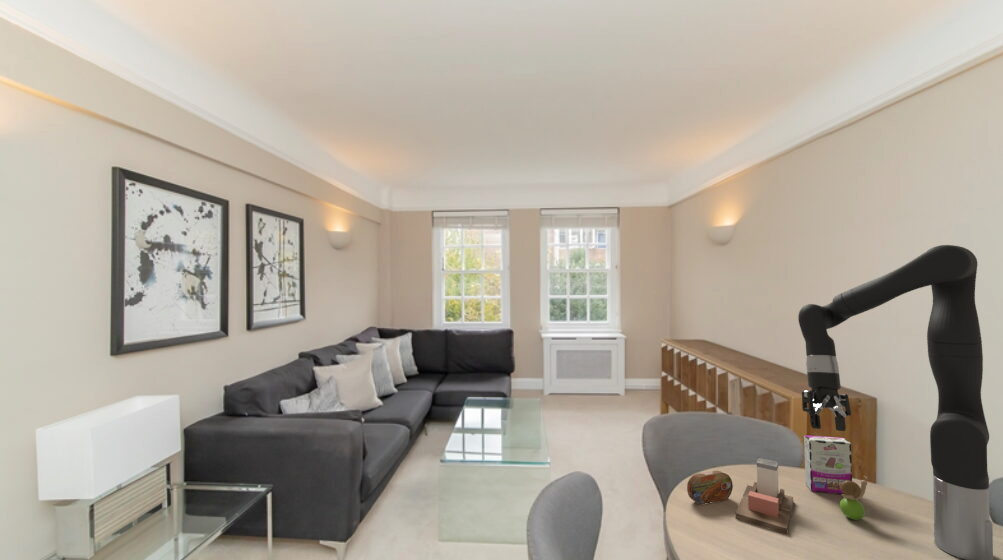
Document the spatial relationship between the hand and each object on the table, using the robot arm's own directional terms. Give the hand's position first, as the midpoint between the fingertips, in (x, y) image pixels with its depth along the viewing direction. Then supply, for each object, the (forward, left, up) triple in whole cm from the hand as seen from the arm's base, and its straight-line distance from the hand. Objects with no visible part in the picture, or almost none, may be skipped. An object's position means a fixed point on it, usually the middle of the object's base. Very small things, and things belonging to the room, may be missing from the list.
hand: (828, 429), depth 118 cm
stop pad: (+15, +13, -23) cm, 30 cm away
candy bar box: (+1, -16, -24) cm, 29 cm away
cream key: (+15, +3, -22) cm, 27 cm away
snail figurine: (-5, -1, -24) cm, 25 cm away
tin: (+29, +13, -24) cm, 40 cm away
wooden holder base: (+15, +9, -24) cm, 30 cm away
